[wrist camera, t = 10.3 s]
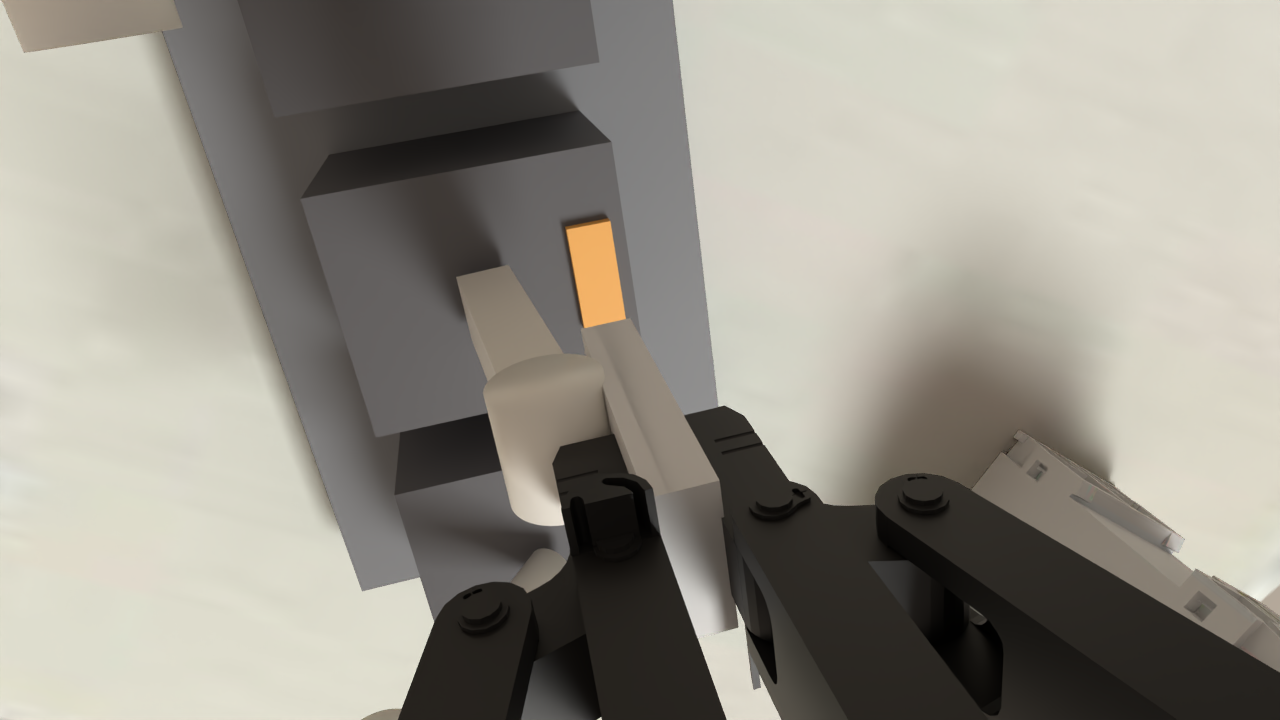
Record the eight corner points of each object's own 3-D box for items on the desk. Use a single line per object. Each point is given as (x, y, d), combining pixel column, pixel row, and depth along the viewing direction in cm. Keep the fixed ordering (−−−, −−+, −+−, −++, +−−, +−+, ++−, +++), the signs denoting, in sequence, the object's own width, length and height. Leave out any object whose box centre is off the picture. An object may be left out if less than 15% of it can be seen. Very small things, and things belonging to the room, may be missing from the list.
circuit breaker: (845, 648, 44) (1019, 937, 31) (1018, 429, 41) (1299, 649, 27) (944, 687, 47) (1143, 968, 34) (1115, 486, 44) (1412, 710, 30)
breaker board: (623, -231, 27) (864, -511, 11) (708, 464, 38) (888, 794, 23) (123, -168, 25) (-391, -403, 10) (368, 545, 36) (312, 964, 21)
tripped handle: (520, 250, 23) (619, 389, 15) (537, 332, 24) (637, 503, 16) (438, 269, 22) (493, 423, 14) (459, 352, 23) (522, 539, 15)
